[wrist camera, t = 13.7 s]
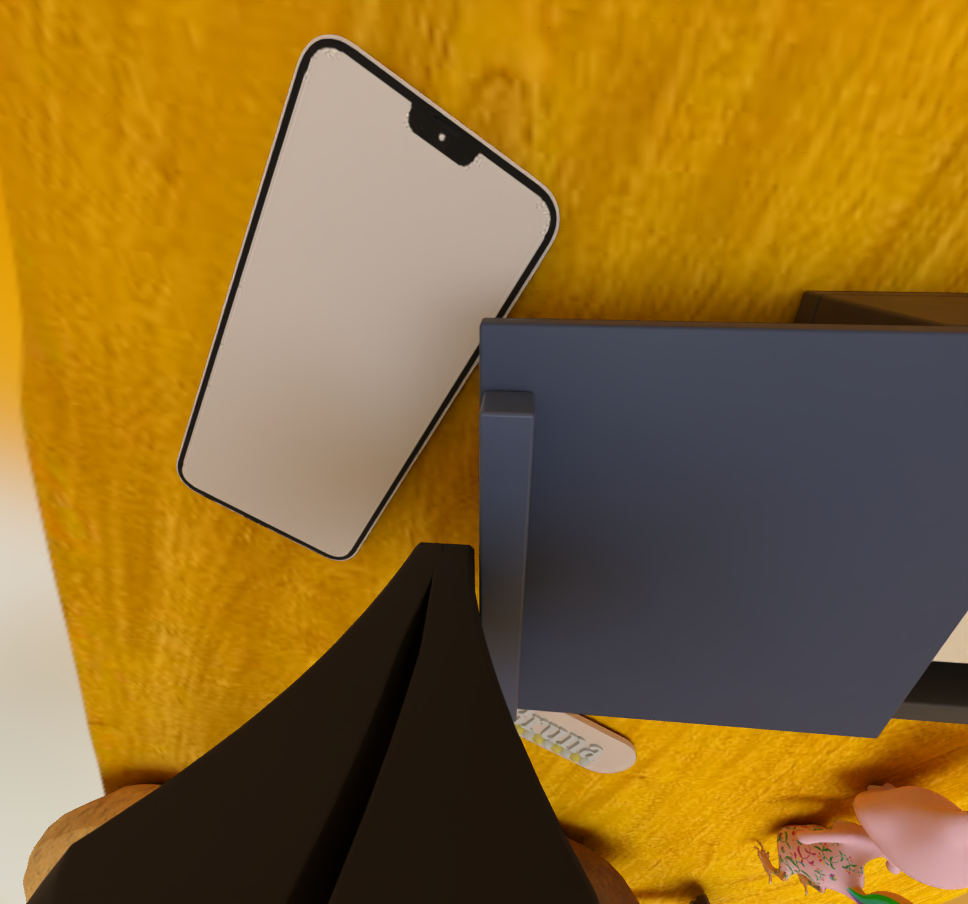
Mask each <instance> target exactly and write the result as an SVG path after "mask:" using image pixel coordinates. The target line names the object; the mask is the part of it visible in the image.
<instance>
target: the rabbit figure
mask: <svg viewBox="0 0 968 904" xmlns="http://www.w3.org/2000/svg"><path fill="white" fill-rule="evenodd" d="M853 807H854V811H855V814H856V817H857V819H858V821H859V822H860V824H861V825H862V826H861V825H858V824H856V823H854V822H851V821H846V820H836V821H834V823H833V825H832V826H831V827H829V828H827V827H823V826H820V825H814V824H810V825H786V826H784V827H783V828H782V829H781V830H780V831H779V833H778V836H777V848H778V856H779V869H776V868H774V867H773V866H772V865H771V862H770V860H769V852H768V851H767V853H766V851H765V850H763V845H762V844H761V843H760V842H759V841H757V842H758V843H759V845H760V846H761V848H762V849H761V852H760V851H759V849H758V848H757V847H756V846H755V847H754V848H756V849H757V850H758V856H759V857H760V859H761V861H762V863H763V866H764V869H765V871H766V872H767V873H768V875H769V884H770V883H771V882H772V879H771V873H773V874H775V875H776V876H778V877H779V878H780V879H781V880H783V881H787V879H788V878H789V876H791V875H793V874H795V873H797V874H798V876H799V879H800V882H801V883H802V884H803V885H804V887H805V896H806V895H807V893H808V892H807V884H808V885H810V886H812V887H813V888H815V889H816V890H818V891H819V892H820V893H824V892H825V890H826V888H829V889H832V890H835V891H838V892H840V893H842V894H844V895H846V896H848V897H849V898H851V899H852V900H854V901H855V902H856V903H857V904H913V903H912V902H910V901H909V900H907V899H906V898H904V897H902V896H900V895H898V894H895V893H891V892H887V891H877V892H873V893H870V894H865V893H864V892H863V890H862V889H863V886H864V865H865V864H866V863H867V862H868V861H870V860H872V859H874V858H877V857H884V858H886V859H887V861H886V866H887V868H888V870H889V871H890V872H892V873H894V874H899V873H900V871H903V872H904V873H905V874H907V875H908V876H910V877H912V878H913V879H915V880H917V881H919V882H922V883H924V884H927V885H930V886H933V887H937V888H942V889H962V888H967V887H968V811H962V810H961V809H960V808H959V807H957V806H956V805H955V804H954V803H952V802H951V801H949V800H948V799H946V798H945V797H943V796H941V795H940V794H938V793H935V792H933V791H931V790H928V789H925V788H922V787H919V786H914V785H909V786H903V787H899V788H895V787H894V786H893V785H892V784H890V783H888V782H886V783H884V785H883V786H875V785H869V786H868V787H867V791H863V792H861V793H859V794H858V795H857V796H856V797H855V799H854V803H853Z"/></svg>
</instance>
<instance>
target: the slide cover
mask: <svg viewBox="0 0 968 904" xmlns="http://www.w3.org/2000/svg"><path fill="white" fill-rule="evenodd" d="M479 374H480V413H479V614H480V619H481V623H482V627H483V631H484V635H485V639H486V643H487V646H488V650H489V653H490V657H491V660H492V663H493V666H494V669H495V672H496V676H497V679H498V681H499V684H500V687H501V690H502V693H503V695H504V698H505V701H506V704H507V706H508V709H509V711H510V714H511V717H512V719H513V722H516V719H517V709H523V710H535V711H547V712H559V713H572V714H584V715H596V716H608V717H621V718H633V719H645V720H657V721H670V722H682V723H694V724H706V725H719V726H731V727H743V728H755V729H768V730H780V731H792V732H805V733H817V734H829V735H841V736H854V737H866V738H877V737H878V736H879V735H880V733H881V732H882V731H883V729H884V728H885V726H886V725H887V723H888V722H889V721H890V719H891V718H892V716H893V715H894V714H895V712H896V711H897V709H898V708H899V707H900V705H901V704H902V702H903V701H904V700H905V698H906V697H907V695H908V694H909V693H910V691H911V690H912V688H913V687H914V686H915V684H916V683H917V681H918V680H919V679H920V677H921V676H922V674H923V673H924V672H925V670H926V669H927V667H928V666H929V665H930V663H931V662H932V660H933V659H934V658H935V656H936V655H937V653H938V652H939V651H940V649H941V648H942V646H943V645H944V644H945V642H946V641H947V639H948V638H949V637H950V635H951V634H952V632H953V631H954V630H955V628H956V627H957V625H958V624H959V623H960V621H961V620H962V618H963V617H964V616H965V614H966V613H967V611H968V327H951V326H899V325H846V324H794V323H742V322H690V321H638V320H585V319H533V318H483V319H482V321H481V324H480V326H479Z"/></svg>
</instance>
